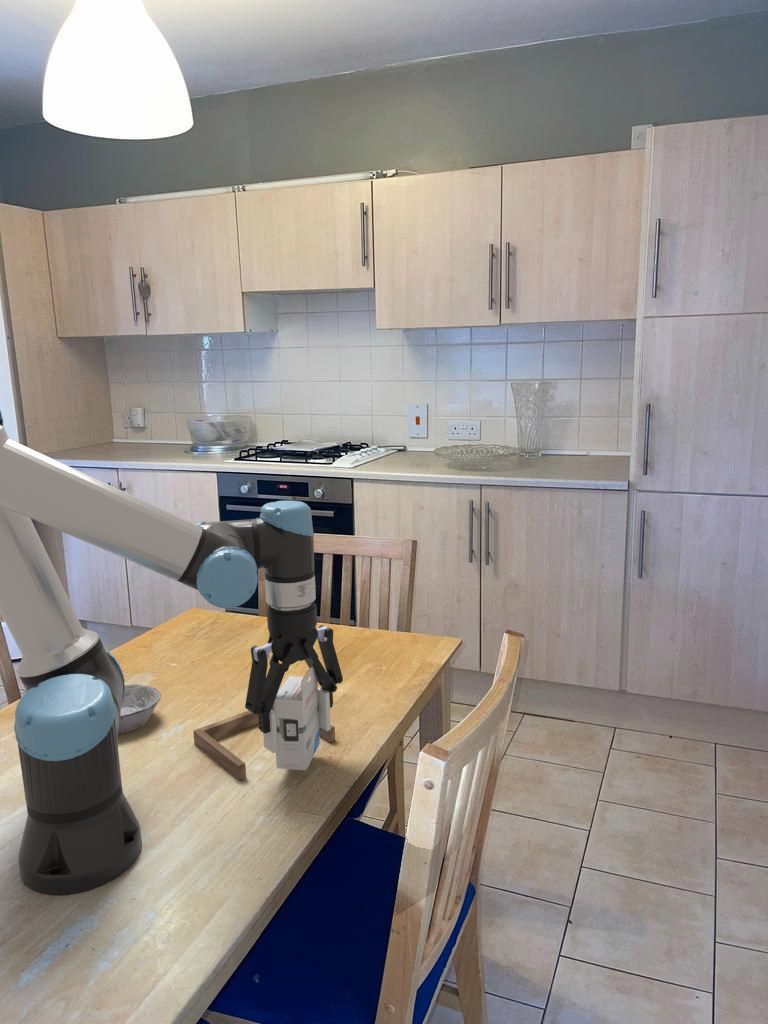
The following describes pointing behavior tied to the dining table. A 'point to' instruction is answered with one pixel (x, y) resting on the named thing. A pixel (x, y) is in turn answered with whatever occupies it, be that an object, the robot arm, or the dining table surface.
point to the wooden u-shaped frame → (212, 732)
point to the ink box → (297, 721)
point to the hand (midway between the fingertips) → (298, 738)
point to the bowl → (137, 707)
